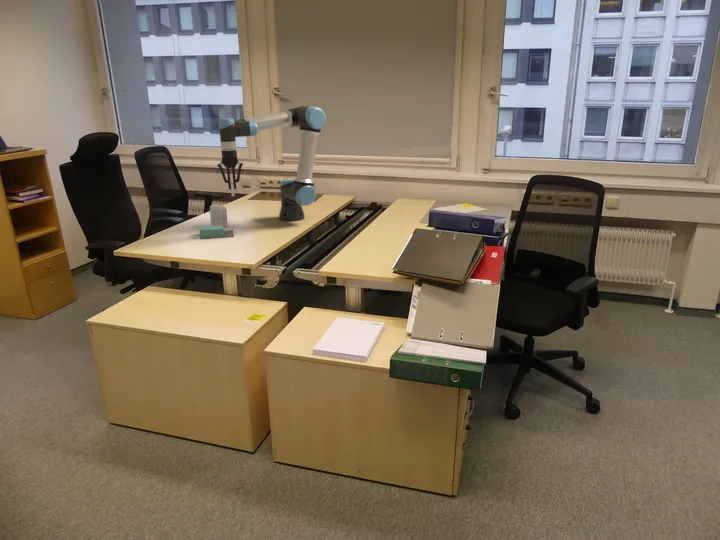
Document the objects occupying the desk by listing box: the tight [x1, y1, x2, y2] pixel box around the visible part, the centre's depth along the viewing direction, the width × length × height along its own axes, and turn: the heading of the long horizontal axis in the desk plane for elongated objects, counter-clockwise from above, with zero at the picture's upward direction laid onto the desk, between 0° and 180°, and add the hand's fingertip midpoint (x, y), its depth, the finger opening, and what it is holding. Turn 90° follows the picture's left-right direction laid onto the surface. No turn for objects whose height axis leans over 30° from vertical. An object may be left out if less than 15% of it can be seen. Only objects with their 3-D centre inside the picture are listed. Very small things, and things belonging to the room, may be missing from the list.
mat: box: [199, 230, 235, 240], centre depth 280 cm, size 17×13×1 cm
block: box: [199, 224, 225, 239], centre depth 279 cm, size 4×9×12 cm
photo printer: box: [209, 203, 229, 229], centre depth 296 cm, size 10×4×12 cm, turn 60°
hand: (233, 195), depth 276 cm, fingers closed
